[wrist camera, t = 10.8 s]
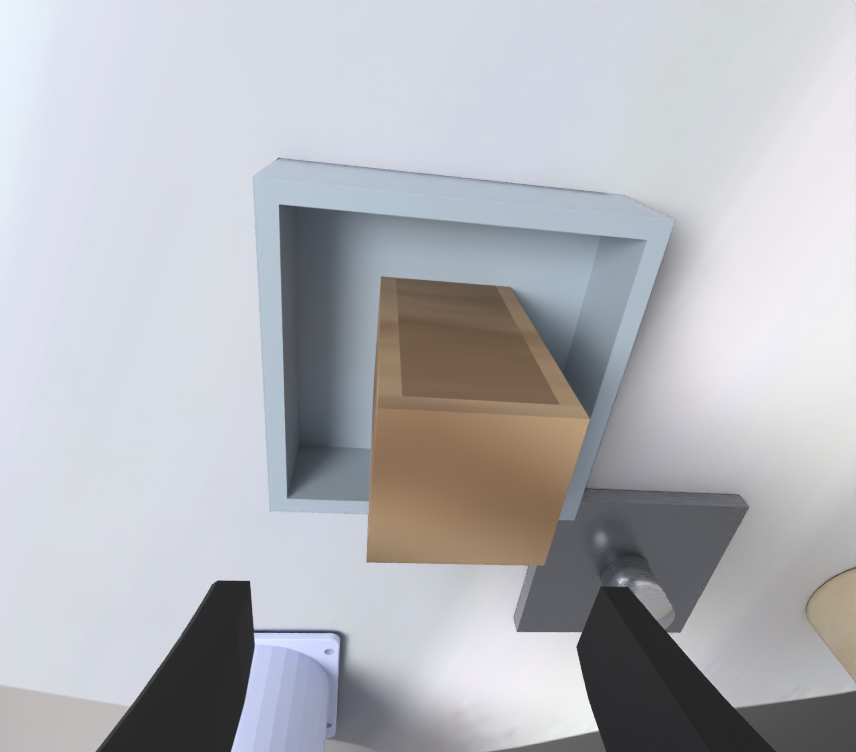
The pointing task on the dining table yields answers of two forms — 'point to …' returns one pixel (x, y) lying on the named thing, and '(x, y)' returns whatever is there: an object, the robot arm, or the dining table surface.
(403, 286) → the brown block
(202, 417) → the dining table surface
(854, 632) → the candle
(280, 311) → the bin
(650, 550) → the base
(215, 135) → the dining table surface
